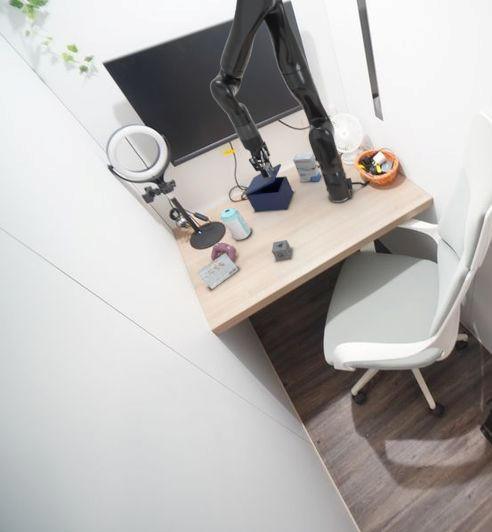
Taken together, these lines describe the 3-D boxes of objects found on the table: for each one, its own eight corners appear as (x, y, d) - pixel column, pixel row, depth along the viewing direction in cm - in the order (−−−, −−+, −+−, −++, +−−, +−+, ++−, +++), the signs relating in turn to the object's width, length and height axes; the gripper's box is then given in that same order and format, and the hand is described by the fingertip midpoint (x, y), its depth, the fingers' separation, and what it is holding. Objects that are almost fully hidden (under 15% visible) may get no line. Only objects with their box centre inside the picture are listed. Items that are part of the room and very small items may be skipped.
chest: (293, 192, 147) (286, 176, 141) (287, 209, 139) (279, 192, 133) (263, 195, 148) (254, 179, 142) (255, 212, 141) (246, 195, 134)
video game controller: (240, 260, 124) (237, 244, 121) (230, 265, 120) (227, 247, 117) (220, 256, 127) (217, 239, 124) (210, 260, 123) (206, 243, 120)
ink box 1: (208, 286, 115) (192, 269, 107) (235, 267, 120) (222, 249, 112) (212, 290, 113) (196, 272, 106) (239, 270, 118) (225, 252, 111)
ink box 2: (321, 175, 154) (313, 153, 145) (318, 181, 151) (310, 159, 142) (304, 175, 155) (295, 153, 146) (301, 181, 152) (292, 159, 143)
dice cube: (290, 258, 120) (285, 249, 116) (277, 260, 120) (271, 251, 116) (291, 249, 123) (286, 239, 119) (278, 251, 123) (273, 242, 119)
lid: (281, 165, 136) (273, 155, 133) (274, 181, 129) (264, 172, 125) (254, 178, 142) (246, 170, 138) (246, 195, 134) (236, 186, 130)
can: (230, 239, 130) (214, 217, 121) (241, 227, 134) (226, 205, 125) (244, 241, 128) (229, 219, 119) (254, 230, 133) (240, 207, 123)
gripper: (252, 142, 115) (272, 182, 127) (263, 123, 124) (281, 162, 137) (232, 145, 115) (254, 184, 128) (245, 126, 125) (264, 164, 137)
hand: (268, 172), depth 132 cm, fingers closed on lid, 5 cm apart
